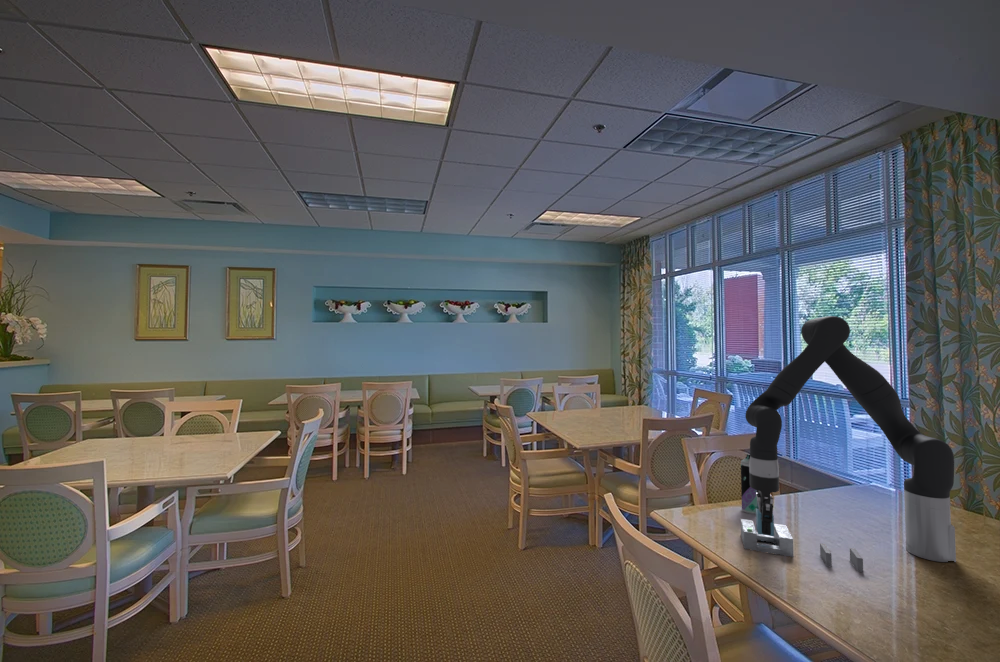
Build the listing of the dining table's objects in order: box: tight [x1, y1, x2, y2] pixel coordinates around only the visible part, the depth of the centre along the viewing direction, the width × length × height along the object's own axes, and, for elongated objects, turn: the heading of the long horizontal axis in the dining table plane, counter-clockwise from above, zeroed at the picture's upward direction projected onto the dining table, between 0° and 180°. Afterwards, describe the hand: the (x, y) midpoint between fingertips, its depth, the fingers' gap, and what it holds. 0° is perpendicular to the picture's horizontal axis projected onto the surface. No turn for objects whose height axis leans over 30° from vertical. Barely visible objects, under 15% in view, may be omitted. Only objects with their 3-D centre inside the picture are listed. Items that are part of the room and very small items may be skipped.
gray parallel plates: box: [819, 542, 864, 573], centre depth 116 cm, size 8×6×4 cm
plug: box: [755, 508, 775, 536], centre depth 127 cm, size 4×4×7 cm
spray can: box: [740, 453, 757, 515], centre depth 153 cm, size 6×6×20 cm
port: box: [740, 518, 794, 558], centre depth 127 cm, size 12×10×6 cm
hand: (765, 530), depth 127 cm, fingers closed on plug, 4 cm apart
